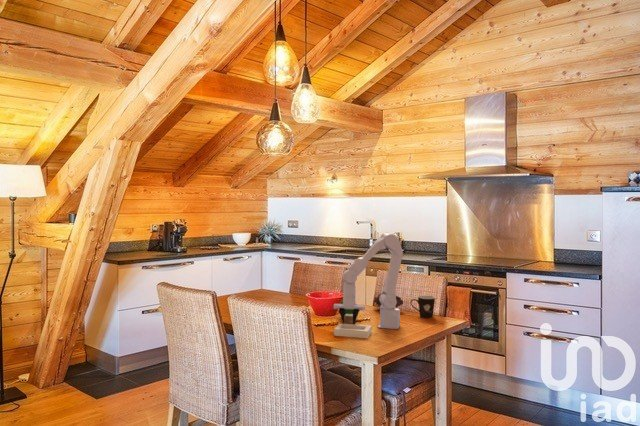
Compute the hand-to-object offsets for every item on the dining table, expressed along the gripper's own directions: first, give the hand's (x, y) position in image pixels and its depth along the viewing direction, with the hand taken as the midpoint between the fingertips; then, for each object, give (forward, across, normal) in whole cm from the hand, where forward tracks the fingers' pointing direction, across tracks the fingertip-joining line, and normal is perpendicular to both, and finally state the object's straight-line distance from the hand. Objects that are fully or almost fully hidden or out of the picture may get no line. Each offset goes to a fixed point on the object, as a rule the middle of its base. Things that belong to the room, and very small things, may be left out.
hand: (349, 324), depth 246 cm
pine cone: (+2, +12, +42) cm, 44 cm away
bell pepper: (+2, -5, +20) cm, 21 cm away
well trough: (+1, +4, -10) cm, 11 cm away
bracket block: (+1, 0, 0) cm, 1 cm away
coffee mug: (+2, +32, +33) cm, 46 cm away
